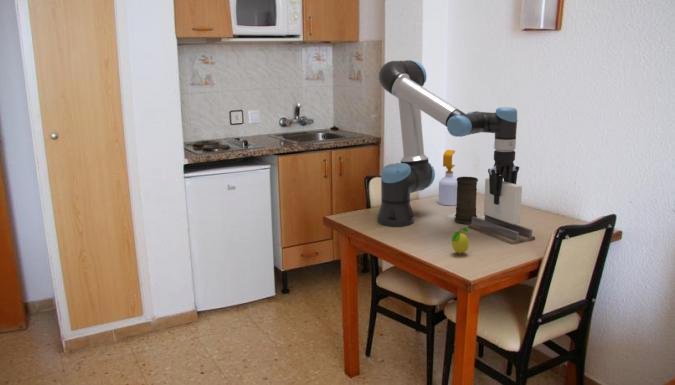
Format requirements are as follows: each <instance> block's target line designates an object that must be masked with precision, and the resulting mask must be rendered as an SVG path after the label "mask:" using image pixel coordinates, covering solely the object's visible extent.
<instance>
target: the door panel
mask: <svg viewBox="0 0 675 385" xmlns="http://www.w3.org/2000/svg"><path fill="white" fill-rule="evenodd" d="M522 190H523V185H520V184H517V183H516V184H513V183H509V182H505V181H504V180H503V182H502V187H501V193H500V196H502V203H501V213H497V212H494V211H495V204H494V195H492V194H490V186H489V178H485V182H484V204H483V215H484V216H485V215H488V216H491V217H494V218H497V219H500V220H503V221H505V222H508V223H511V224H517V225H519V224H520V223H521V209H522V208H521V207H522V193H523V191H522Z"/></svg>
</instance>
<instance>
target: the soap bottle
mask: <svg viewBox="0 0 675 385" xmlns="http://www.w3.org/2000/svg"><path fill="white" fill-rule="evenodd" d="M455 152H456V150H455V149H447V150H446V151H445V152H444V153H443V156H442V167H446V169H447V170H446V171H445V176H444V177H441V179H439V181H438V201H437V202H438V203H439V205H442V206H448V207H449V206H450V207H451V206H457V185H458V184H457V178H456V177H455V176H454V171H453V170H452V169H453V168H454V167H455V166H456V165H455V164H453V155H454V154H455Z"/></svg>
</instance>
